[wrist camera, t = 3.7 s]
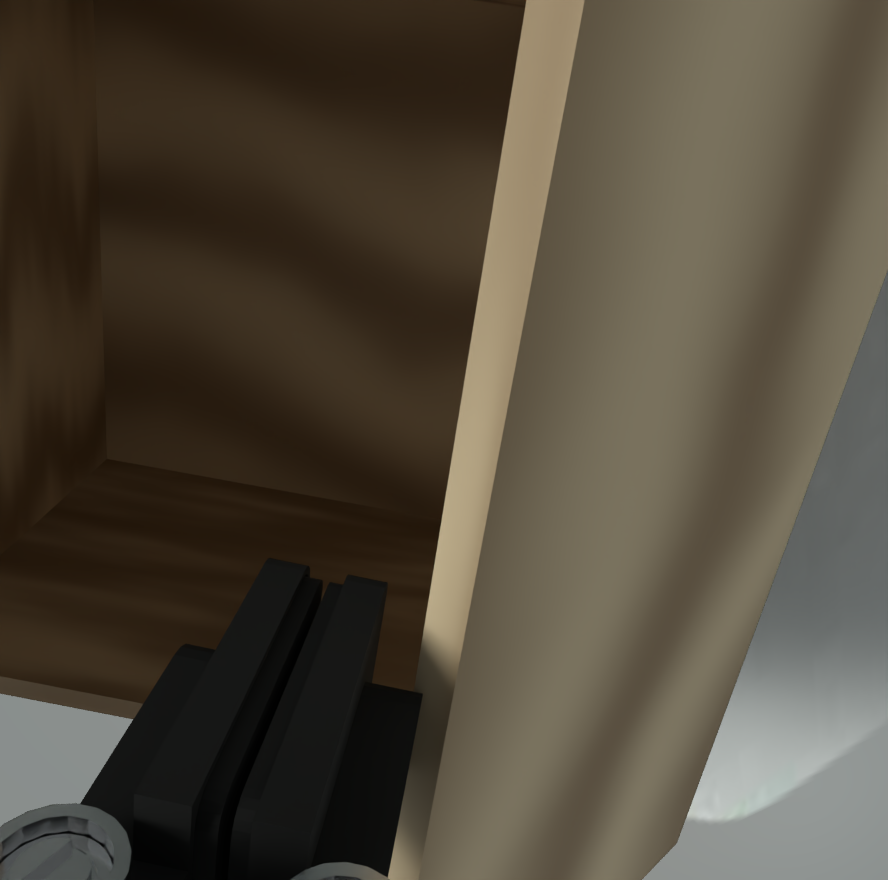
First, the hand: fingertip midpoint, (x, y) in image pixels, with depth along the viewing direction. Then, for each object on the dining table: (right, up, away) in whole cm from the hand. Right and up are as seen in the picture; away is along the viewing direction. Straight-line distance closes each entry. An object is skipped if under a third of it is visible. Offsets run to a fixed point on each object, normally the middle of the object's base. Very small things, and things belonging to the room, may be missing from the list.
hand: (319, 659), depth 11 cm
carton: (-1, +9, +18) cm, 20 cm away
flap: (+5, +1, +3) cm, 6 cm away
